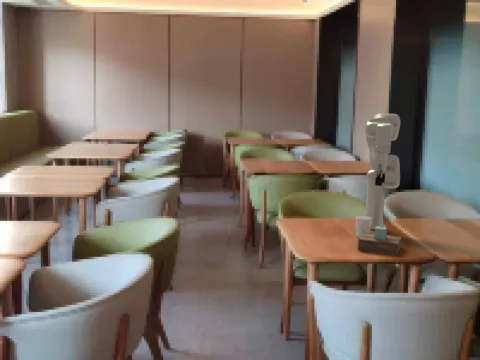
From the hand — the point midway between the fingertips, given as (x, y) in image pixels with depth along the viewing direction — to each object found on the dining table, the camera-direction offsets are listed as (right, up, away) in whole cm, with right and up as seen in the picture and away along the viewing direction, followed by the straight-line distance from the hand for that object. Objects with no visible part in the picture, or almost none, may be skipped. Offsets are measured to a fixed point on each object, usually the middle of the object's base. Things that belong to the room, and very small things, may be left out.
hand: (379, 184), depth 285 cm
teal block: (-3, -26, -11) cm, 28 cm away
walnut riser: (-3, -30, -10) cm, 32 cm away
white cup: (-7, -27, +9) cm, 29 cm away
